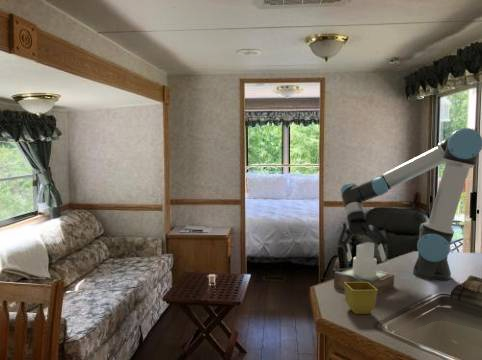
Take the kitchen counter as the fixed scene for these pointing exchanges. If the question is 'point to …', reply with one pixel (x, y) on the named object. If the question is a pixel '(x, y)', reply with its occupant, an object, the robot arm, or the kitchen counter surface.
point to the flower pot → (360, 296)
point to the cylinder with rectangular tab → (365, 260)
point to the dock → (365, 280)
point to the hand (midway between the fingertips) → (367, 259)
